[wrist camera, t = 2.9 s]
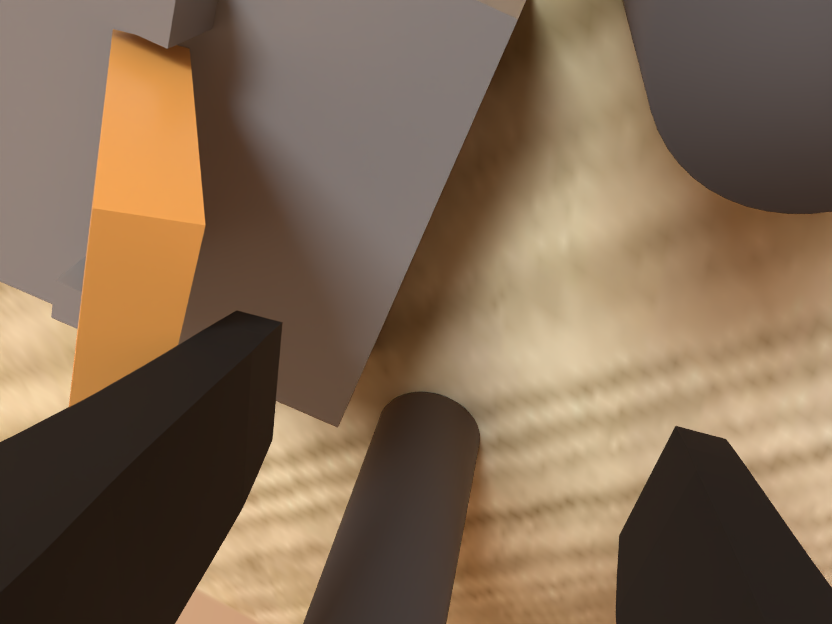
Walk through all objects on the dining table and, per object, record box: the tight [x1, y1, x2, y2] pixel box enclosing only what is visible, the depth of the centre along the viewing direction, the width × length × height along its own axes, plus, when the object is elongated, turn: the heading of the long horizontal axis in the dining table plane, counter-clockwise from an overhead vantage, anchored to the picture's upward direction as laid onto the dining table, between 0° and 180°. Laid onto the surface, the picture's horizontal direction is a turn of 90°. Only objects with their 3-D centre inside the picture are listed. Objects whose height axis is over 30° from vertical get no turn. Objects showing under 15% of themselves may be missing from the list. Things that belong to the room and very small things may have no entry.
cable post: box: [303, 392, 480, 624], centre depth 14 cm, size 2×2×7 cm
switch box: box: [0, 0, 526, 427], centre depth 12 cm, size 9×8×4 cm
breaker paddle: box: [69, 29, 205, 407], centre depth 9 cm, size 1×4×4 cm, turn 158°
